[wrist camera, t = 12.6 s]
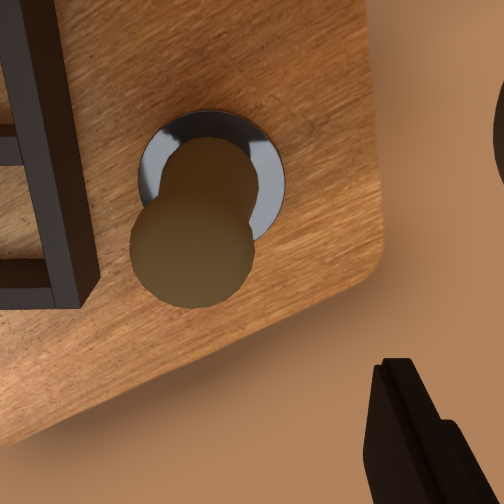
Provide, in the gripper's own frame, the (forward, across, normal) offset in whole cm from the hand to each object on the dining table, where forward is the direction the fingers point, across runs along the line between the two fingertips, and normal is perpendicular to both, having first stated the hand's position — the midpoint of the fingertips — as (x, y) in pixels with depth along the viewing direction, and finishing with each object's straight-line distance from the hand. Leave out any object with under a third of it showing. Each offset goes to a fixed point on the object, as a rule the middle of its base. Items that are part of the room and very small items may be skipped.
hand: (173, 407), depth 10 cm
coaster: (+19, +1, 0) cm, 19 cm away
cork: (+19, +1, 0) cm, 19 cm away
